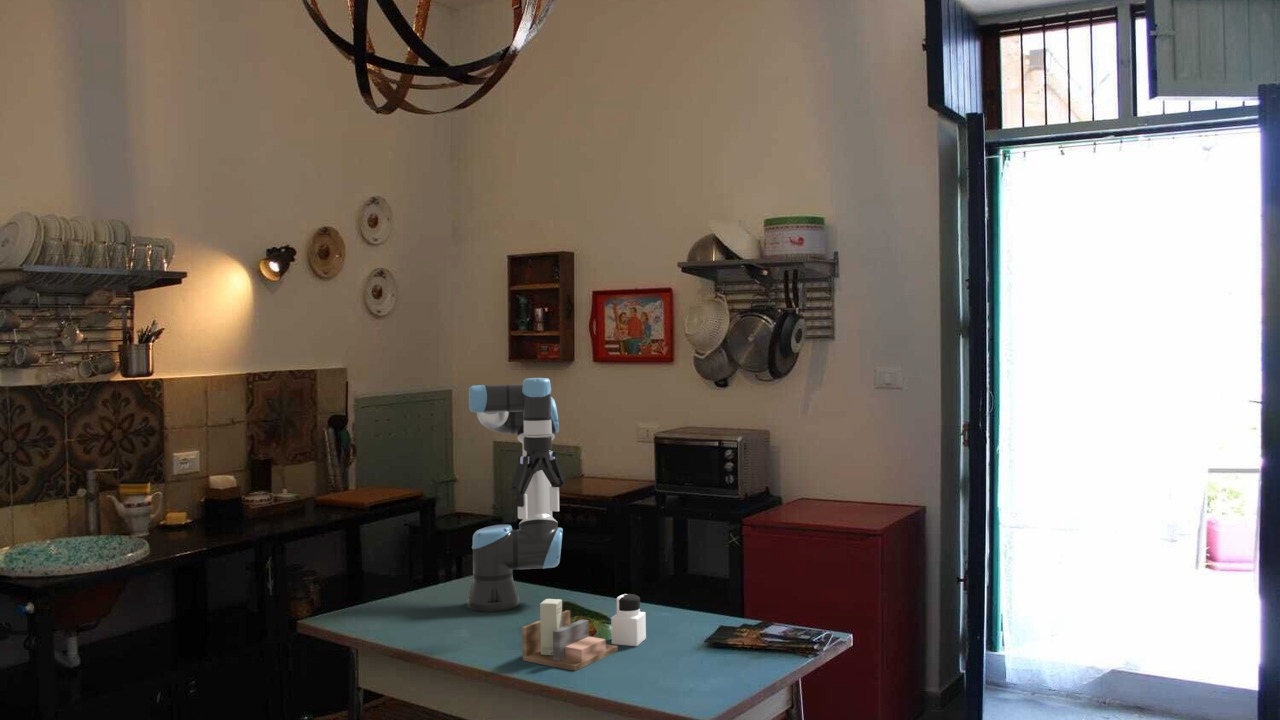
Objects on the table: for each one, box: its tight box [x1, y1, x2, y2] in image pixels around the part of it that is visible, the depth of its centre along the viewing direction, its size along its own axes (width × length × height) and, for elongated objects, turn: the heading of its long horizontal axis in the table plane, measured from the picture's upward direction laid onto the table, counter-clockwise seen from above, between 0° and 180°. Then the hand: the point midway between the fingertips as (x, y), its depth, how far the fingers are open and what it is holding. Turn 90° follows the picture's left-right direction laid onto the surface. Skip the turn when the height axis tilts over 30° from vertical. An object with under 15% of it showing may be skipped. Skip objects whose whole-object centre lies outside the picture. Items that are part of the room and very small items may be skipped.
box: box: [539, 598, 563, 656], centre depth 253 cm, size 5×4×13 cm
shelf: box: [521, 609, 619, 672], centre depth 255 cm, size 18×16×8 cm
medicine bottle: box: [610, 593, 647, 647], centre depth 266 cm, size 7×7×12 cm
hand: (539, 514), depth 274 cm, fingers open, 13 cm apart
